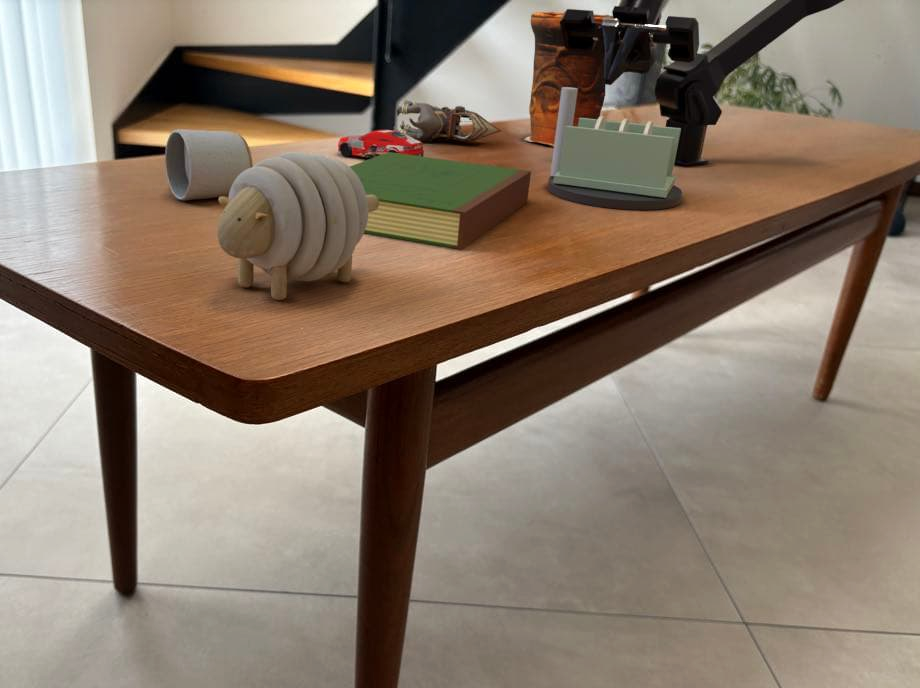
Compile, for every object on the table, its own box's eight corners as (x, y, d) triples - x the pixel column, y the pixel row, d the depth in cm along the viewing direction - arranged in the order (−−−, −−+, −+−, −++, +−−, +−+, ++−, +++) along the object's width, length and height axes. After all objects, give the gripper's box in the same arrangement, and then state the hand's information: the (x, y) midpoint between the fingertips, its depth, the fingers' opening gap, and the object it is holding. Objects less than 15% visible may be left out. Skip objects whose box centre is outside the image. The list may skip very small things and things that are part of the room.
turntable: (605, 175, 125) (606, 167, 125) (708, 201, 113) (710, 192, 113) (520, 186, 116) (521, 177, 115) (622, 216, 104) (623, 206, 103)
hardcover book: (461, 249, 88) (465, 212, 86) (296, 221, 94) (296, 186, 93) (528, 201, 109) (532, 170, 107) (389, 180, 115) (391, 151, 113)
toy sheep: (184, 289, 73) (177, 152, 68) (323, 251, 85) (326, 132, 80) (274, 323, 67) (273, 176, 62) (409, 277, 79) (418, 150, 74)
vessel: (500, 139, 148) (514, 10, 140) (544, 132, 158) (560, 10, 149) (575, 153, 140) (595, 16, 131) (617, 144, 150) (638, 16, 141)
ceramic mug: (257, 200, 102) (256, 131, 98) (191, 207, 97) (187, 135, 94) (217, 183, 109) (215, 118, 106) (154, 188, 105) (150, 121, 102)
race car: (330, 155, 129) (330, 127, 127) (349, 150, 133) (350, 122, 131) (409, 167, 123) (411, 138, 121) (427, 162, 128) (429, 133, 126)
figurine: (410, 96, 153) (507, 104, 150) (407, 132, 155) (502, 141, 153) (388, 102, 135) (498, 112, 132) (385, 143, 137) (493, 153, 134)
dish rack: (541, 181, 113) (553, 90, 108) (558, 168, 121) (570, 83, 116) (665, 198, 108) (684, 103, 103) (674, 183, 116) (692, 95, 111)
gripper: (713, 42, 127) (678, 129, 123) (590, 32, 135) (553, 113, 132) (713, -20, 117) (674, 73, 114) (579, -27, 126) (539, 60, 122)
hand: (607, 82), depth 121 cm, fingers closed
